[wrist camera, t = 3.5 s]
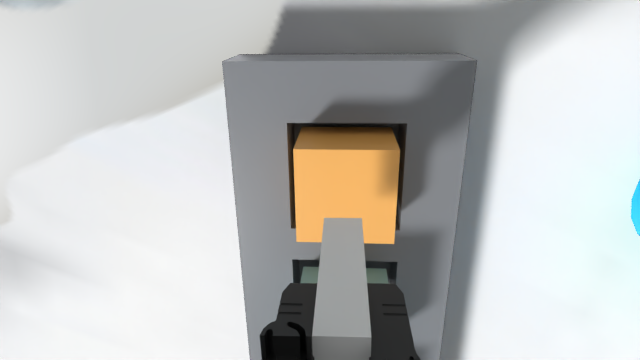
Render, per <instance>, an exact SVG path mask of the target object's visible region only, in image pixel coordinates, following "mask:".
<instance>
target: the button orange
mask: <svg viewBox="0 0 640 360" xmlns="http://www.w3.org/2000/svg"><path fill="white" fill-rule="evenodd" d="M293 157H294V185H295V214H296V242H322V234H323V224H324V218H362V226H363V238H364V243H374V244H394V239H395V223H396V208H397V192H398V177H399V161H400V148H399V146H398V143H397V141H396V138H395V135H394V133H393V130H392V128H391V127H302V128H301V130H300V133H299V136H298V138H297V141H296V143H295V146H294V149H293Z"/></svg>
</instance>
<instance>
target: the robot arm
mask: <svg viewBox="0 0 640 360" xmlns="http://www.w3.org/2000/svg"><path fill="white" fill-rule="evenodd" d="M260 346H261V356H262V359H261V360H420V357H419V356H418V355H417V353H416V351H415V347H414V342H413V337H412V332H411V327H410V323H409V318H408V313H407V308H406V303H405V298H404V293H403V292H402V291H401V290H400V289H399V288H398V286H397V285H396V284H383V283H367V276H366V263H365V251H364V238H363V226H362V218H324V224H323V234H322V243H321V253H320V263H319V273H318V282H317V283H290V284H289V285H288V286H287V287H286V289H285V290H284V291H283V292H282V295H281V300H280V305H279V309H278V314H277V318H276V321H274V322H271V323H269V324H268V325H267V326H266V327H264V328H263V330H262V332H261V334H260Z"/></svg>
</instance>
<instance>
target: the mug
mask: <svg viewBox="0 0 640 360" xmlns="http://www.w3.org/2000/svg"><path fill="white" fill-rule="evenodd" d="M631 218H632V221H633V224H634V226H635V229H636V231H637V234H638V235H639V236H640V180H639V182H638V185H637V187H636V190H635V192H634V195H633V198H632V209H631Z"/></svg>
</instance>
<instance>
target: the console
mask: <svg viewBox="0 0 640 360" xmlns="http://www.w3.org/2000/svg"><path fill="white" fill-rule="evenodd" d="M222 65H223V75H224V87H225V97H226V108H227V119H228V129H229V140H230V151H231V161H232V172H233V183H234V193H235V204H236V215H237V226H238V236H239V247H240V258H241V268H242V279H243V290H244V300H245V311H246V322H247V332H248V343H249V354H250V360H261V359H262V356H261V346H260V334H261V332H262V330H263V328H264V327H266V326H267V325H268V324H269V323H271V322H274V321H276V318H277V314H278V309H279V305H280V300H281V295H282V292H283V291H284V290H285V289H286V287H287V286H288V285H289V284H290V283H301V277H302V271H303V267H319V263H320V253H321V243H322V242H296V214H295V185H294V157H293V149H294V146H295V143H296V141H297V138H298V136H299V133H300V130H301V128H302V127H391V128H392V130H393V133H394V135H395V138H396V141H397V143H398V146H399V148H400V161H399V177H398V192H397V208H396V223H395V239H394V244H374V243H364V251H365V263H366V268H382V269H386V271H387V277H388V284H396V285H397V286H398V288H399V289H400V290H401V291H402V292H403V293H404V298H405V303H406V308H407V313H408V318H409V323H410V327H411V332H412V337H413V342H414V347H415V351H416V353H417V355H418V356H419V357H420V360H440V352H441V344H442V336H443V328H444V320H445V312H446V304H447V296H448V288H449V280H450V272H451V264H452V256H453V248H454V240H455V232H456V224H457V216H458V208H459V200H460V192H461V185H462V177H463V169H464V161H465V153H466V145H467V137H468V129H469V121H470V113H471V105H472V97H473V89H474V81H475V73H476V65H477V60H474V59H472V58H469V57H466V56H464V55H461V54H459V53H445V54H243V55H242V54H240V55H237V56H234V57H232V58H229V59H227V60H225V61H223V62H222Z"/></svg>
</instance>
